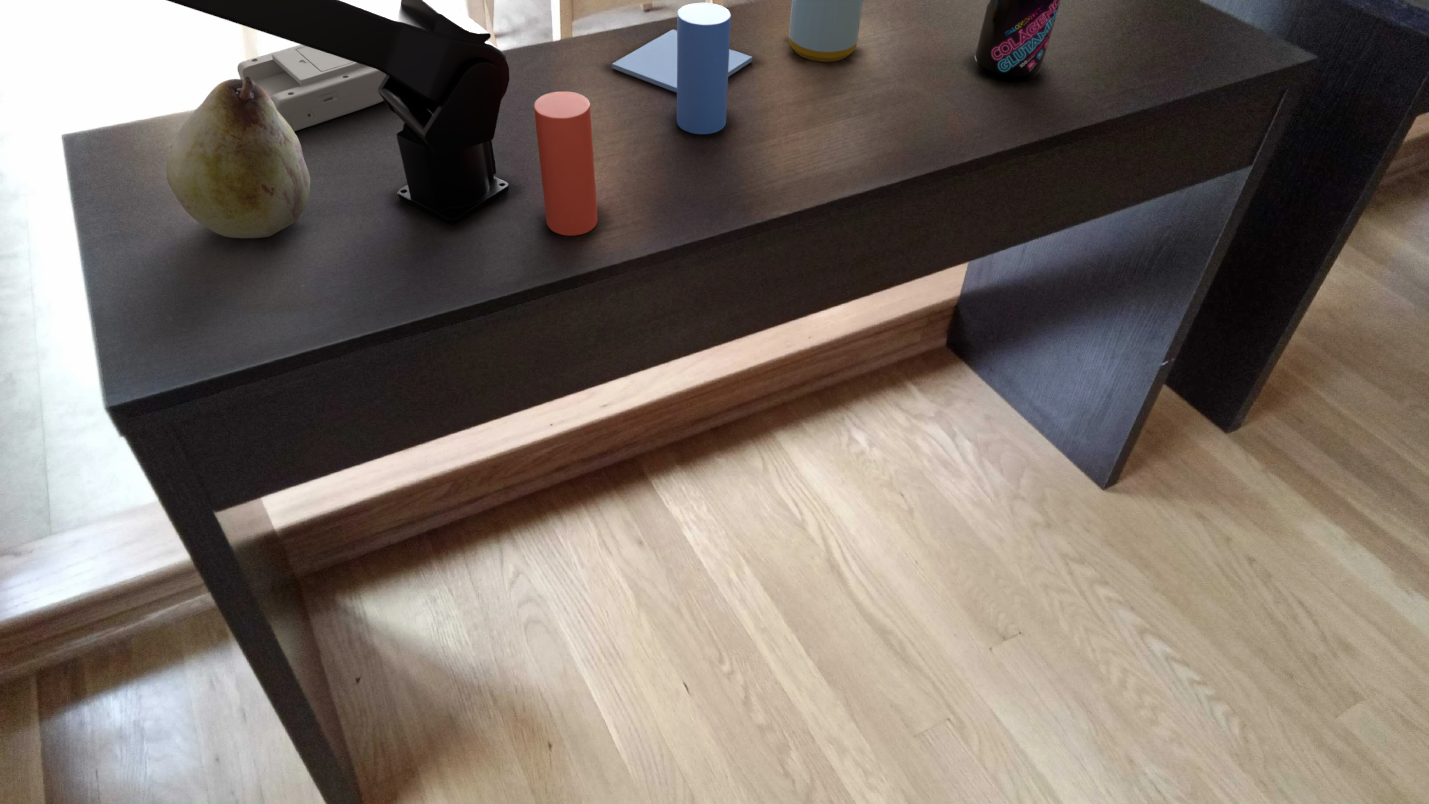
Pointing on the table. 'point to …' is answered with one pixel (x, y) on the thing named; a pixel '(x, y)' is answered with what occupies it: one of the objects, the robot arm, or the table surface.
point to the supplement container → (1015, 38)
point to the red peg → (566, 162)
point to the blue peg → (702, 67)
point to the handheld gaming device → (313, 84)
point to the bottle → (824, 28)
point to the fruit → (239, 164)
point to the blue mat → (665, 62)
